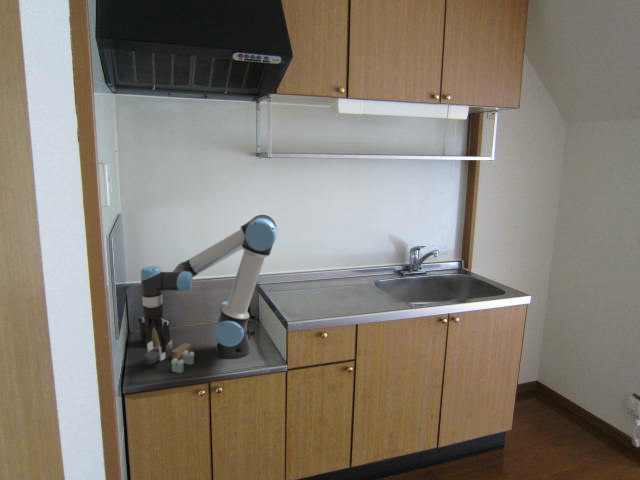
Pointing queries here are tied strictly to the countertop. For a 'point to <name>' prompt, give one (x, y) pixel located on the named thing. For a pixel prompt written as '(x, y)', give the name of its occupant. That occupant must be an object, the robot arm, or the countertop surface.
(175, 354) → the wooden bars with cylinder
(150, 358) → the dark grey rounded block
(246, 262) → the robot arm
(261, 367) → the countertop surface
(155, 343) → the squeeze bottle
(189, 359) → the cradle
